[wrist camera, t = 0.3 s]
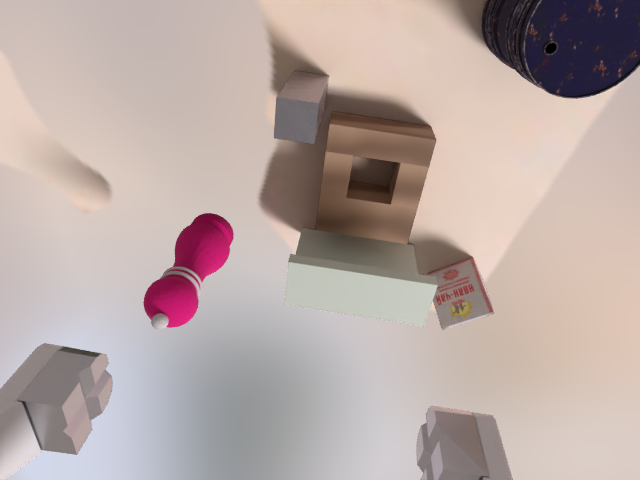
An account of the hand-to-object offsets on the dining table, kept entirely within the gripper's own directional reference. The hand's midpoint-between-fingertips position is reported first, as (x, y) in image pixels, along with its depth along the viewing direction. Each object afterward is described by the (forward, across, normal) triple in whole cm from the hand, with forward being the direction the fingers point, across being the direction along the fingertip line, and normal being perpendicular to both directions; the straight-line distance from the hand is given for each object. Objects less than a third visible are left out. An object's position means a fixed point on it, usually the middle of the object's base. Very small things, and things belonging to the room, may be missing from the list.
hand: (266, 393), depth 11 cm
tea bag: (+46, -20, +27) cm, 57 cm away
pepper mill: (+46, +16, +26) cm, 55 cm away
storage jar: (+46, -18, -7) cm, 50 cm away
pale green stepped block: (+46, -5, +21) cm, 51 cm away
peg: (+46, +4, +4) cm, 46 cm away
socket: (+46, -5, +13) cm, 48 cm away
